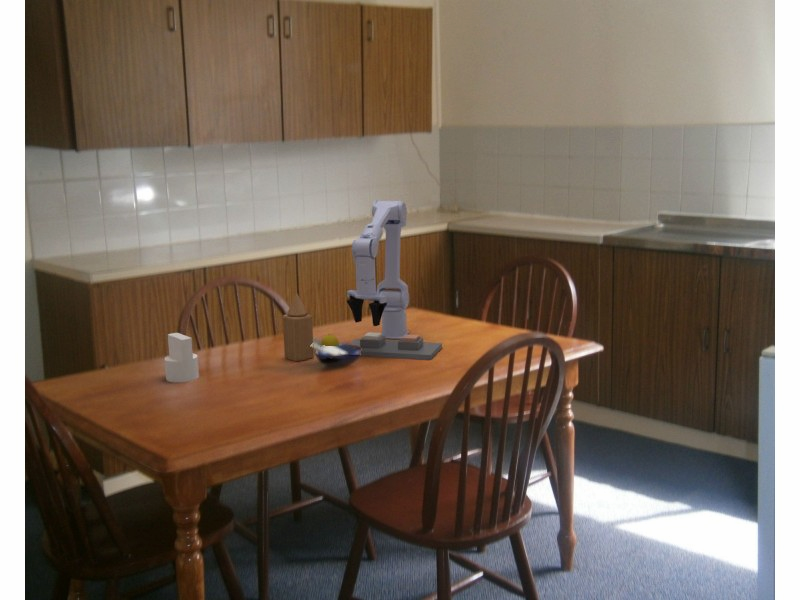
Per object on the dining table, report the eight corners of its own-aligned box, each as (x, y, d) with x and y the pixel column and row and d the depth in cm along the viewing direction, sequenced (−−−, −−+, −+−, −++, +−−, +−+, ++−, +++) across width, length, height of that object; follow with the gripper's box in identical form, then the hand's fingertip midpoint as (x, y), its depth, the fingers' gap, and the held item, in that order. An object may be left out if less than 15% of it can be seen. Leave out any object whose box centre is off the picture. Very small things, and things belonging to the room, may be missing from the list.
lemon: (317, 360, 269) (316, 333, 267) (331, 356, 273) (330, 330, 271) (329, 363, 265) (328, 337, 263) (343, 359, 269) (342, 333, 267)
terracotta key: (405, 340, 277) (405, 334, 277) (419, 341, 276) (419, 334, 276) (401, 344, 273) (401, 337, 273) (415, 344, 272) (415, 338, 271)
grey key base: (356, 343, 287) (355, 330, 286) (442, 347, 279) (441, 335, 279) (340, 354, 274) (340, 341, 273) (430, 360, 266) (430, 346, 265)
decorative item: (314, 358, 271) (311, 292, 267) (296, 362, 267) (292, 295, 263) (302, 353, 276) (299, 289, 272) (283, 358, 272) (280, 292, 268)
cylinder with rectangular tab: (160, 377, 255) (157, 336, 253) (189, 371, 261) (186, 330, 258) (175, 384, 248) (171, 342, 246) (204, 377, 254) (201, 336, 251)
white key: (368, 338, 281) (368, 332, 280) (381, 339, 279) (381, 333, 279) (363, 342, 276) (363, 335, 276) (377, 342, 275) (377, 336, 275)
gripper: (338, 278, 269) (340, 322, 272) (373, 283, 259) (375, 330, 262) (355, 274, 274) (357, 318, 277) (390, 279, 264) (392, 325, 267)
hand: (367, 323), depth 270 cm, fingers open, 7 cm apart
